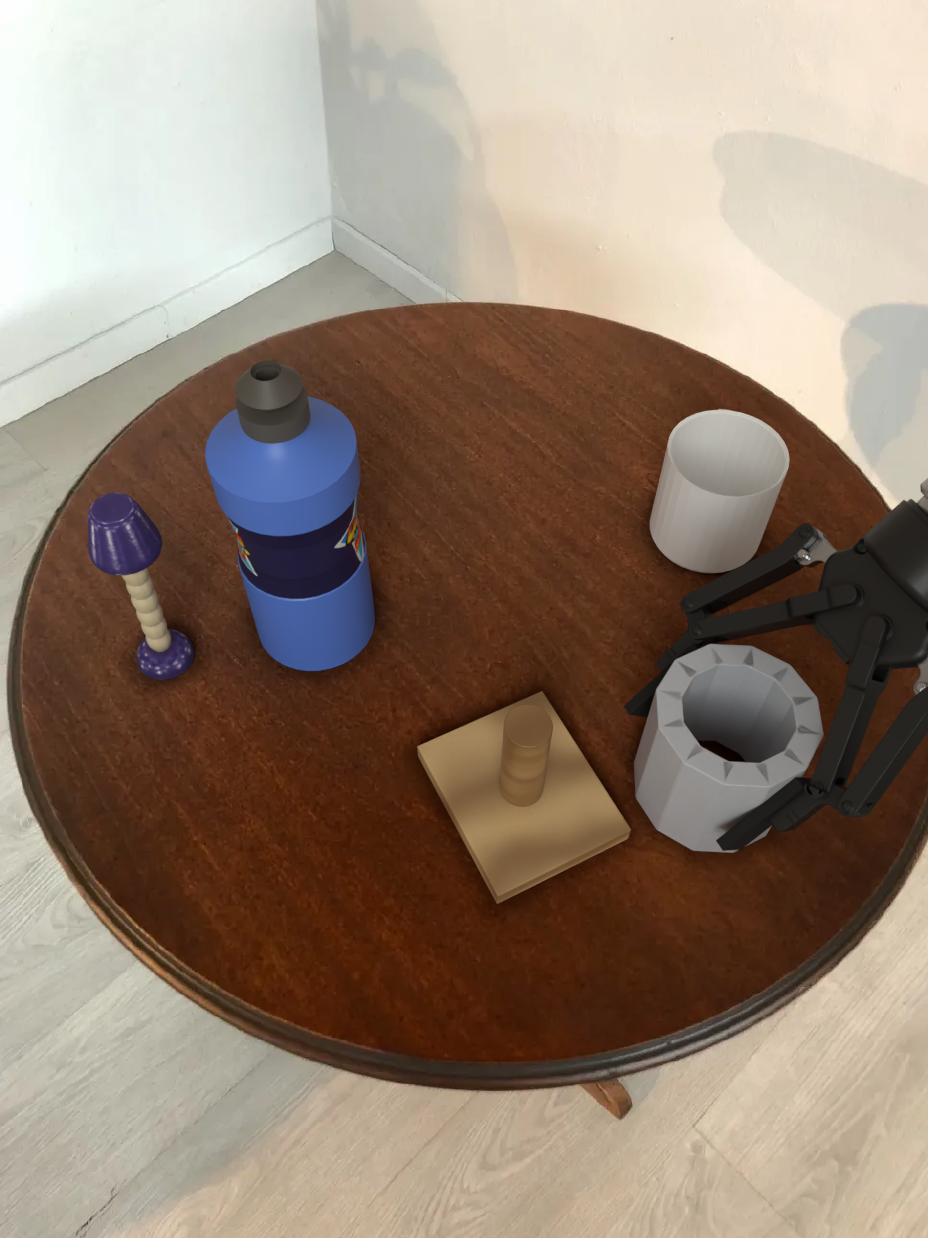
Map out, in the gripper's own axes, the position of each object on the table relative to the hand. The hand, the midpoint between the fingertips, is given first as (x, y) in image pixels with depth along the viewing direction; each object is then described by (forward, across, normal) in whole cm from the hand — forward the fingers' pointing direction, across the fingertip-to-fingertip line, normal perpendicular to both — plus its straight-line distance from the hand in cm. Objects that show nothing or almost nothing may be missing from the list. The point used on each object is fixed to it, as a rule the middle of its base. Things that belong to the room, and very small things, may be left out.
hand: (680, 775), depth 66 cm
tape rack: (+9, +5, +4) cm, 11 cm away
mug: (-9, +20, -15) cm, 27 cm away
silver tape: (+1, 0, -5) cm, 5 cm away
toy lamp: (+22, +27, +16) cm, 38 cm away
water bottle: (+14, +25, +8) cm, 30 cm away
